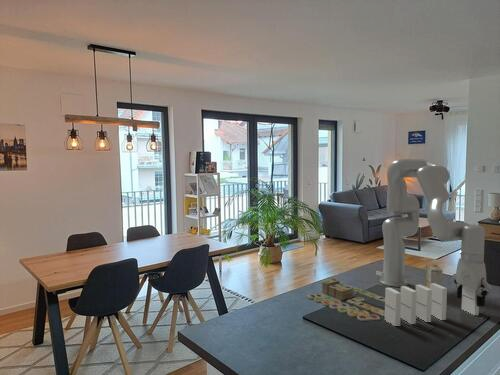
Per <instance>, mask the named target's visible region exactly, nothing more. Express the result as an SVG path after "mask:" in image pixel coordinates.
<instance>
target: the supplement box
mask: <svg viewBox="0 0 500 375" xmlns="http://www.w3.org/2000/svg"><path fill="white" fill-rule="evenodd" d="M431 283H435V284H438V285H440V286H443V269H442V268H441V267H440V266H439V265H437V264H425V285H424V286H425V287H427V288H429V289H430V284H431Z"/></svg>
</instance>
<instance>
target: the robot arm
mask: <svg viewBox="0 0 500 375" xmlns="http://www.w3.org/2000/svg"><path fill="white" fill-rule="evenodd" d="M386 178H387V179H386V180H387V189H386V190H387V192H386V210H387V213H389V214H390V215H393V216H395V217H390V218H386V219H385V220H384V221H383V223H382V226H381V228H382V229H381V230H382V235H383V266H382V267H383V270H382V271H379V270H376V271H375V275H376V276H377V277H380V278H379V283H381V284H383V285H384V286H387V287H396V288H401V286H406V287H408V285H409V281H407V279H405V270H406V268H405V267H406V266H405V265H406V262H405V261H406V246H405V243H404V240H403V238H405V237H412V236H414V235H416V234H417V232H418V231H419V227H420V226H419V224H420V202H419V199H418V198H417V196H415V195H412V194H407V193H408V192H407V191H408V190H407V189H408V186H407V183H406V180H405V178H416V179H417V182H418V183H419V185H420V188H421V190H422V192H423V193H424V197H425V198H426V200H427V204H428V207H427V210H426V211H427V212H426V213H427V214H426V216H427V217H426V218H427V222H428V225H429V226H430V229H431V230H432V231H431V232H432V233H433V235H434V236H435V238H436V239H437V240H439V241H441V242H444V243H445V242H455V241H456V242H457V241H459V242H460V241H461V243H460V245H461V246H460V252H459V254H460V258H458V261H457V265H456V270H455V271H456V273H453V274H452V278H453V282H454V283H455V287H456V289H457V290H456V298H457V299H462V285H463V286H466V287H468V288H471V289H474V290H476V291H477V293H478V295H479V296H477V306H478V307H479V308H480V307H485V306H486V297H487V296H488V295H490V293H491V291H492V290H493V287H492V285H490V284H489V283H488V281H487V270H486V264H485V261H484V259H485V258H484V257H485V233H486V231H485V230H486V229H485V227H483V225H479V224H469V223H466V222H464V221H448V222H447V220H446V218H445V216H444V213H443V207H444V204H445V203H446V202H447V201H449V199H450V196H451V195H450V193H449V192H448V190H447V188H446V186H445V184H447V183H448V182H449V181H450V171H449V170H448V168H446V166H443V165H441V164H438V163H435V162H433V161H432V162H431V161H429V160H425V159H419V158H418V159H417V158H400V159H396V160H394V161H392V162H391V163H390V164H389V166H388V167H387V171H386Z"/></svg>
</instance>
